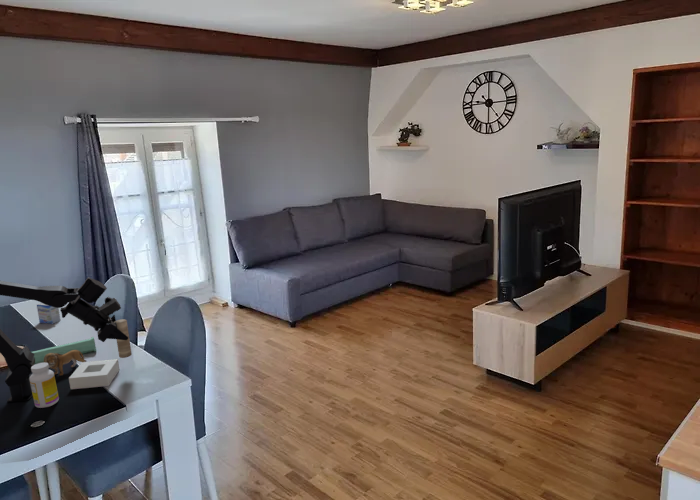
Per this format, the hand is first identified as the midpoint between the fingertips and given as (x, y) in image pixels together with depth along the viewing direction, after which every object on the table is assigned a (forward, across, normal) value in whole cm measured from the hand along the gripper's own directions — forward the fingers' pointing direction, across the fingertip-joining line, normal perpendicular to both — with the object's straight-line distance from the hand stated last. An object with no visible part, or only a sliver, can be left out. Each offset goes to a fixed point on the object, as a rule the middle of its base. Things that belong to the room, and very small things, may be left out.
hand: (127, 336), depth 176 cm
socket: (+1, +2, +18) cm, 18 cm away
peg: (+4, 0, +6) cm, 7 cm away
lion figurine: (-5, +14, +24) cm, 28 cm away
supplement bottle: (-8, -8, +28) cm, 30 cm away
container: (-6, +28, +26) cm, 39 cm away
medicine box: (-10, +76, +30) cm, 82 cm away
